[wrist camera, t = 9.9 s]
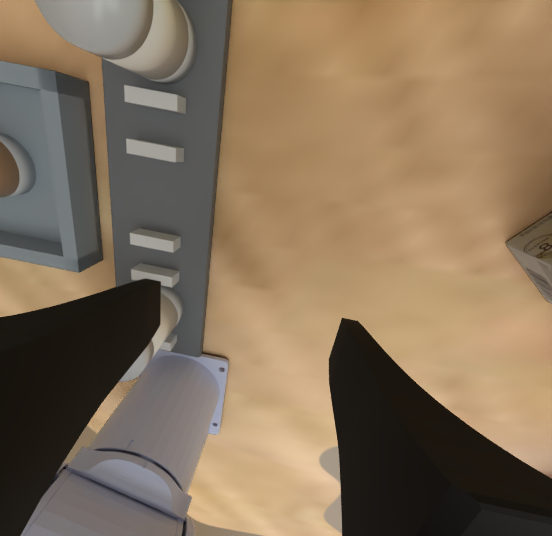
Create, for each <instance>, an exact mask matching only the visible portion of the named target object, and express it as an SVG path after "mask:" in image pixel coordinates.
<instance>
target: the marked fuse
mask: <svg viewBox="0 0 552 536" xmlns="http://www.w3.org/2000/svg"><path fill="white" fill-rule="evenodd" d="M35 180H36V170H35V166H34V163H33V161H32V158H31V157H30V155H29V153H28V152H27V150H26V149H25V148H24V147H23V146H22V145H21V144H20V143H19V142H18V141H17V140H15V139H14V138H12V137H10V136H8V135H6V134H2V133H0V198H2V197H8V196H15V195H21V194H25V193H27V192H29V191H30V190H31V189H32V188H33V186H34V184H35Z"/></svg>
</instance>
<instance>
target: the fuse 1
mask: <svg viewBox="0 0 552 536" xmlns="http://www.w3.org/2000/svg"><path fill="white" fill-rule="evenodd" d="M35 2H36V4H37V6H38V8H39V10H40V11H41V13H42V15H43V16H44V18H45V19H46V21H47V22H48V23H49V25H50V26H51V27H52V28H53V29H54V30H55V32H57V33H58V34H59V35H60V36H61V37H62V38H63V39H65V40H66V41H67V42H69V43H71V44H73V45H75V46H77V47H79V48H81V49H83V50H85V51H88V52H90V53H92V54H94V55H96V56H99V57H101V58H103V59H105V60H107V61H110V62H112V63H114V64H116V65H118V66H121V67H123V68H125V69H127V70H129V71H131V72H134V73H136V74H138V75H140V76H142V77H145V78H147V79H149V80H151V81H153V82H156V83H159V84H165V85H167V84H174V83H177V82H179V81H180V80H182V79H183V78H184V77H186V76H187V74H188V73H189V72H190V70H191V69H192V67H193V64H194V62H195V58H196V54H197V38H196V32H195V29H194V26H193V23H192V21H191V19H190V17H189V15H188V13H187V12H186V11H185V9H184V8H183V7H182V6H181V5H180V3H179V2H178V1H177V0H35Z"/></svg>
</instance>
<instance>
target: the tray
mask: <svg viewBox="0 0 552 536" xmlns="http://www.w3.org/2000/svg"><path fill="white" fill-rule="evenodd" d="M0 133H2V134H6V135H8V136H10V137H12V138H14V139H15V140H17V141H18V142H19V143H20V144H21V145H22V146H23V147H24V148H25V149H26V150H27V152H28V153H29V155H30V157H31V158H32V161H33V163H34V166H35V170H36V180H35V184H34V186H33V188H32V189H31V190H30V191H29V192H27V193H25V194H21V195H15V196H8V197H2V198H0V257H4V258H9V259H14V260H19V261H24V262H29V263H34V264H39V265H44V266H49V267H54V268H59V269H63V270H68V271H73V272H78V273H79V272H81V271H83V270H85V269H87V268H89V267H91V266H93V265H94V264H96V263H98V262H100V261H102V260H103V256H102V243H101V231H100V219H99V206H98V194H97V182H96V169H95V157H94V145H93V132H92V120H91V108H90V95H89V83H88V81H85V80H81V79H78V78H75V77H72V76H69V75H66V74H63V73H60V72H57V71H53V70H47V69H42V68H36V67H31V66H26V65H20V64H15V63H10V62H4V61H0Z"/></svg>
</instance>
